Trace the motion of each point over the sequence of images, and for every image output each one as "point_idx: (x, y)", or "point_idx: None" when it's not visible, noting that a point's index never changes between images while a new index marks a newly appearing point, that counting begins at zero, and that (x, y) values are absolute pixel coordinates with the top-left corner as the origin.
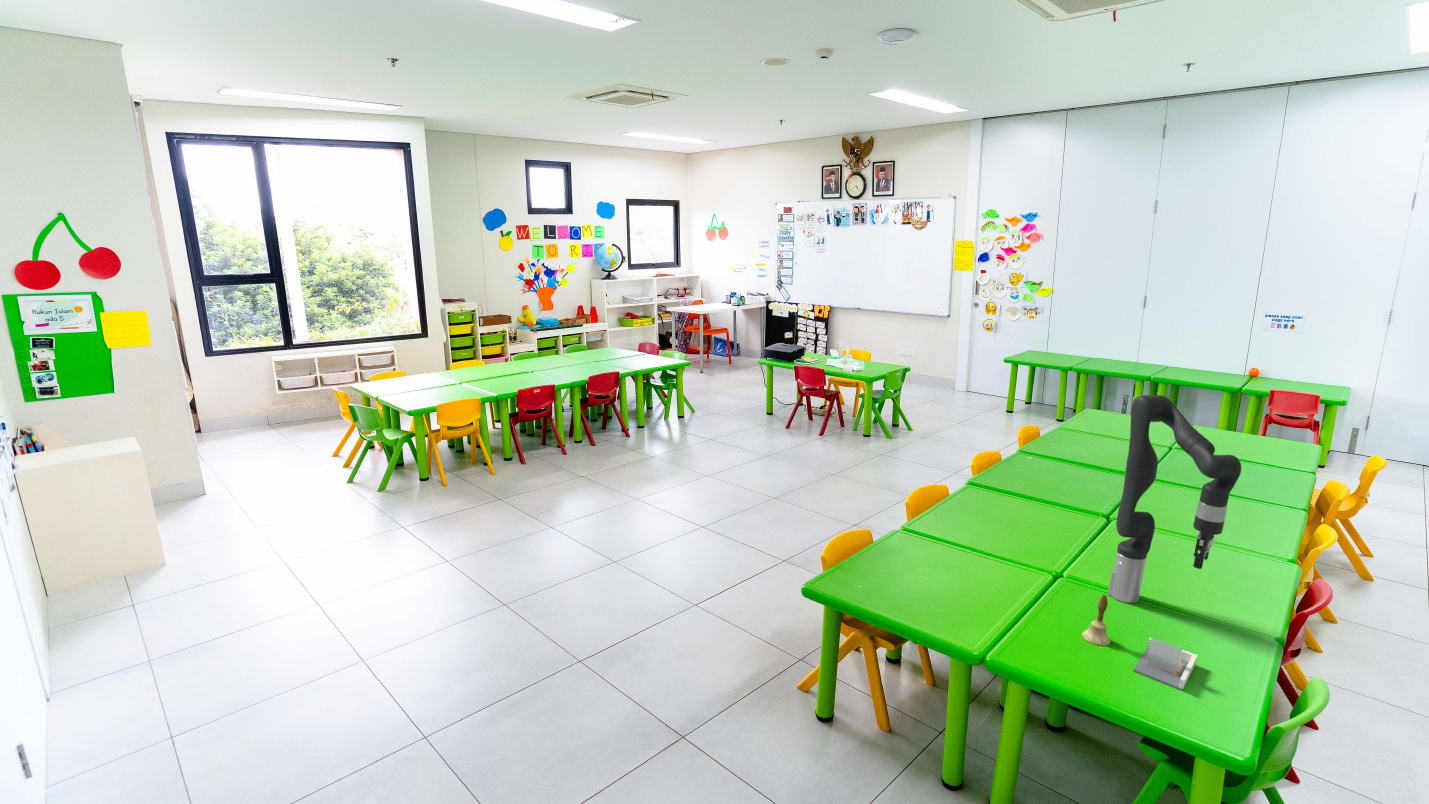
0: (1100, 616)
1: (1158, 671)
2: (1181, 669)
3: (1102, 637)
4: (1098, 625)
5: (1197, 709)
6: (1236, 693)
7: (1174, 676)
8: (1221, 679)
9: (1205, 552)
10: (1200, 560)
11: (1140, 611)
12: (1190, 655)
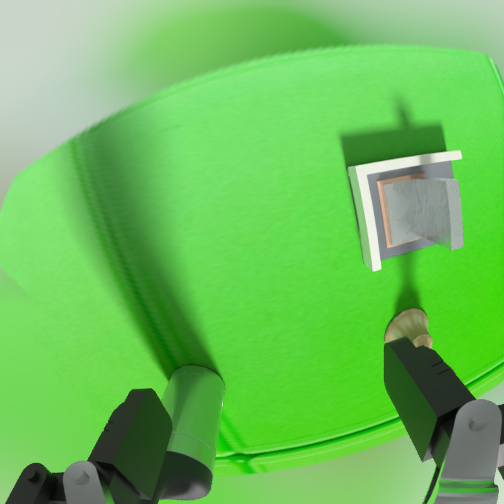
0: None
1: None
2: (396, 177)
3: (422, 322)
4: (430, 344)
5: (465, 118)
6: (371, 78)
7: (428, 176)
8: (351, 111)
9: (495, 468)
10: (468, 395)
11: (223, 345)
12: (365, 178)
